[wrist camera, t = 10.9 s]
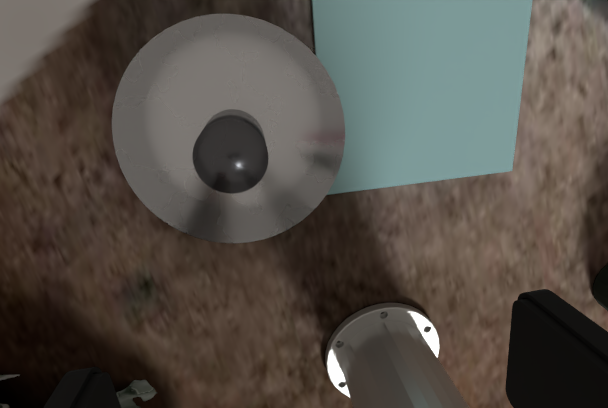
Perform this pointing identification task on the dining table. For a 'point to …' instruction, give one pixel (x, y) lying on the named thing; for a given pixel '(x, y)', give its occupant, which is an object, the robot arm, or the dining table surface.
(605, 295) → the potion bottle
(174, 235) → the dining table surface
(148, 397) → the rose bouquet
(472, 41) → the teal mat
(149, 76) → the metal lid
